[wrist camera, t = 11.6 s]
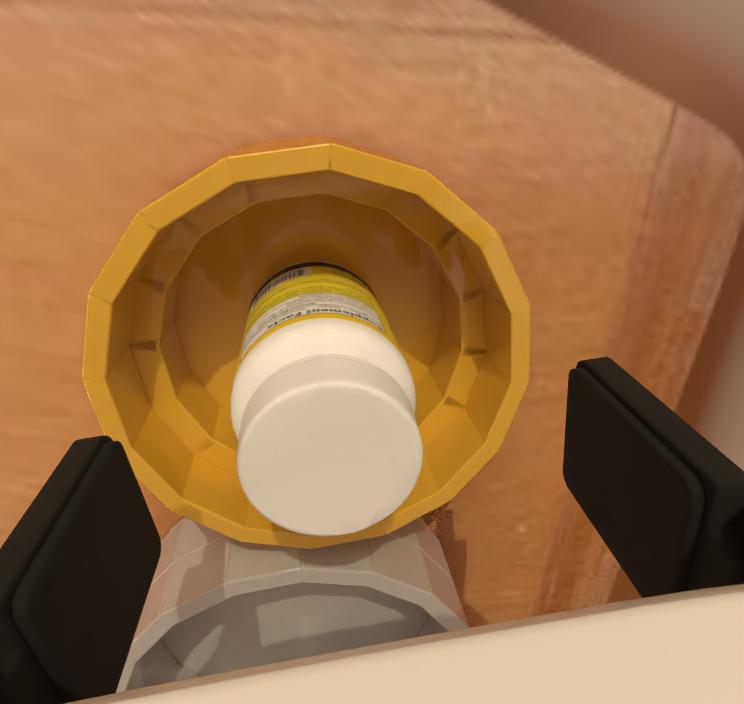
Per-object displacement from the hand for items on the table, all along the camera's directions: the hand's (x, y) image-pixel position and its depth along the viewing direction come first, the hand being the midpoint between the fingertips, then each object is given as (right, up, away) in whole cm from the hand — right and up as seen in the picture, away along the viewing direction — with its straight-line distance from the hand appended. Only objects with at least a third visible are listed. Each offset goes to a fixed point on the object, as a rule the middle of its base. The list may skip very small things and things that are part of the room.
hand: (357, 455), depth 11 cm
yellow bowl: (-2, +3, +8) cm, 9 cm away
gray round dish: (-3, -10, +14) cm, 17 cm away
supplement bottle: (-2, +3, +8) cm, 9 cm away
